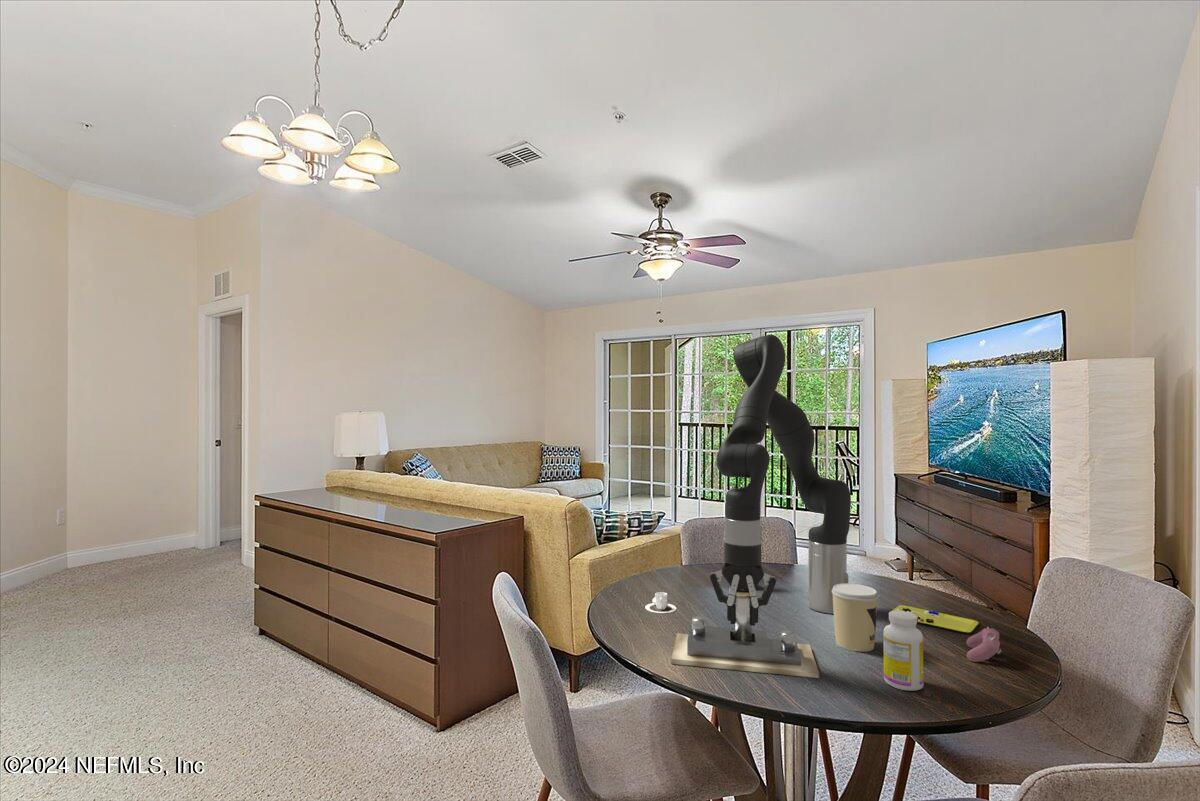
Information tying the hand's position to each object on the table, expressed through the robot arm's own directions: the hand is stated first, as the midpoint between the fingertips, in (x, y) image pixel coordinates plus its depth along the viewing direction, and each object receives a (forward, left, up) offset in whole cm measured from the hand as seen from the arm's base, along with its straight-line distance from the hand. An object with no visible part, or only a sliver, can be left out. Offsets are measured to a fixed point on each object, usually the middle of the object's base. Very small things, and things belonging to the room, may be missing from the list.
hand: (742, 623), depth 123 cm
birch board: (0, 0, -7) cm, 7 cm away
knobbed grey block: (0, 0, -7) cm, 7 cm away
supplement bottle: (-29, +6, -7) cm, 30 cm away
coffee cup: (-24, -12, -7) cm, 28 cm away
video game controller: (-49, -12, -7) cm, 51 cm away
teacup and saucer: (+17, -28, -7) cm, 34 cm away
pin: (0, 0, -3) cm, 3 cm away
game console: (-46, -33, -8) cm, 57 cm away
